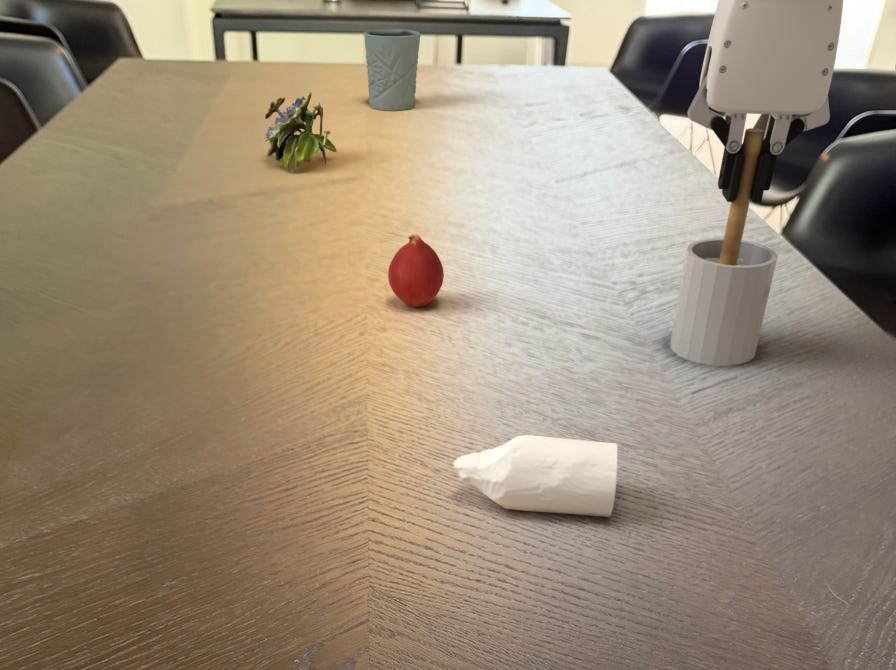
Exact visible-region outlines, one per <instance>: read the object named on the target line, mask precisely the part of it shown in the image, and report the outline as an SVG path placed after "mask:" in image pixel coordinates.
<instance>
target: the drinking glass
mask: <svg viewBox="0 0 896 670" xmlns="http://www.w3.org/2000/svg"><path fill="white" fill-rule="evenodd" d="M363 35H364V48H365V59H366V69H367V82H368V86H367V87H368V102H369V107H370V108H371V109H374V110H378V111H385V112H386V111H387V112H397V111H407V110H411V109H413V108H414V107H415V106H416V105H415V104H416V93H417V92H416V91H417V76H418V75H417V74H418V73H417V72H418V63H419V52H420V42H421V33H420V32H419V31H418V30H417V31H416V30H411V29H405V28H403V29H402V28H376V29H369V30H365V31H364V32H363Z"/></svg>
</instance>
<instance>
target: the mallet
mask: <svg viewBox="0 0 896 670" xmlns="http://www.w3.org/2000/svg"><path fill="white" fill-rule="evenodd" d="M764 135H765V130H763V129H762V128H754V127H749V128H746V129H744V134H743V139H742V145H743V149H742V152H743V154H744V155H745V160H744V165H743V170H742V175H741V180H740V185H739V190H738V195H737V199H736V201H734V202H730V204H729V211H728V216H727V220H726V226H725V229H724V235H723V239H724V240H723V245H722V250H721V255H720V258H705V260H707V261H711V262H715V263H719V264H727V265H742V266H747V265H746V263H745V262H744V260H743V259H738V254H739V250H740V245H741V240H743V235H744V231H745V225H746V221H747V216H748V211H749V207H750V202H751V198H750V197H751V193H752V188H753V183H754V179H755V174H756V169H757V164H758V160H759V155H760V151H761V146H762V141H763V139H764Z"/></svg>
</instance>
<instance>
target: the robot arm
mask: <svg viewBox="0 0 896 670" xmlns="http://www.w3.org/2000/svg"><path fill="white" fill-rule="evenodd" d="M843 6H844V0H717V5H716V8H715V13H714V16H713V20H712V23H711V28H710V32H709V35H708V41H707V44H706V48H705V54H704V58H703V62H702V66H701V73H700V78H699V86H698V87H699V88H698V90H697V92H696V94H695V95H694V98H693V99H692V101H691V103H690V105H689V107H688V109H687V112H686V113H687V117H688V119H690V120H691V122H694V123H695V124H698V125H700V126H702V127H704V128H706V129H709V130H711V131H712V132H713V133H714V134H715V136H716V137H717V138H718V140H719V141H720V142H721V144H722V145H723V147H724V148H723V154H722V160H721V163H720V170H719V175H718V181H717V188H718V190H721V194H722V196H723V197H724V199H725V200H726V202H727V203H731V202H734V201H736V199H737V195H738V190H739V185H740V180H741V175H742V170H743V165H744V160H745V155H744V154H743V152H742V149H743V139H744V133H745V128H746V127H745V126H746V120H747V115H748V114H750V115H754V114H755V115H768V119H767V123H766V127H765V130H764V136H763V141H762V146H761V151H760V155H759V160H758V164H757V169H756V174H755V179H754V183H753V188H752V193H751V197H750V201H752V202H753V203H754V204H761V203H762V201H763V198H764V197H763V196H764V192H765V191H767V192H768V191H769V190H770V188H771V185H772V182H773V181H772V180H773V177H774V176H773V175H774V171H775V168H776V162H777V159H778V155H780V154H782V152H783V151H784V149H785V147H786V146H788V145H789V144H790V143H791V142H792V141H793V140H795V139H796V138H797V137H798V136H800V135H801V134H802V133H803V132H805V131H810V130H813V129H816V128H819V127H821V126H824V125H826V124H827V123H829V122H830V120H831V119H830V118H831V114H830V113H831V112H830V103H829V102H830V101H829V91H830V87H831V83H832V79H833V75H834V68H835V63H836V59H837V52H838V46H839V39H840V33H841V26H842V18H843V17H842V16H843V8H844V7H843ZM713 110H714V111H713ZM715 111H716V112H715ZM718 112H720V113H718ZM721 113H724V114H725V115H724V116H723V115H722V114H721Z"/></svg>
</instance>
